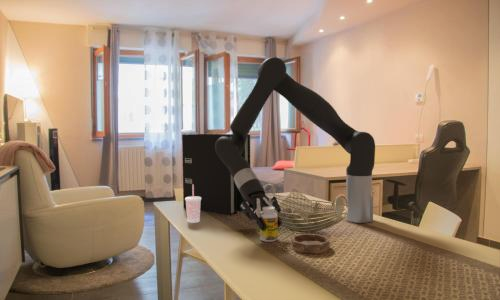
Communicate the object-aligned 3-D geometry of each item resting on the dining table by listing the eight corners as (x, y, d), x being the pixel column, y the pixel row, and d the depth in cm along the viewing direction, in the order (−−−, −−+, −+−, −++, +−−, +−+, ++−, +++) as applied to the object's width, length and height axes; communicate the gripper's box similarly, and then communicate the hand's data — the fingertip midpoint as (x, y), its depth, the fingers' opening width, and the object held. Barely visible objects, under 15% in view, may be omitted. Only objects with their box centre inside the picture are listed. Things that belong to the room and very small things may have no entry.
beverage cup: (197, 218, 150) (196, 182, 150) (204, 221, 145) (204, 184, 144) (182, 220, 147) (182, 184, 146) (189, 224, 142) (188, 186, 141)
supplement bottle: (266, 243, 118) (266, 210, 118) (256, 239, 123) (256, 207, 122) (281, 240, 122) (281, 208, 121) (270, 236, 126) (270, 205, 125)
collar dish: (325, 242, 119) (325, 233, 119) (331, 254, 108) (331, 244, 108) (290, 242, 119) (290, 233, 119) (293, 254, 109) (293, 244, 109)
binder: (251, 210, 165) (251, 134, 163) (228, 216, 153) (227, 135, 151) (206, 202, 182) (205, 133, 180) (182, 207, 170) (180, 134, 168)
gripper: (235, 180, 123) (260, 224, 114) (270, 176, 131) (295, 217, 123) (226, 194, 127) (249, 238, 118) (260, 189, 136) (283, 230, 127)
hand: (272, 227), depth 121 cm, fingers closed on supplement bottle, 5 cm apart
